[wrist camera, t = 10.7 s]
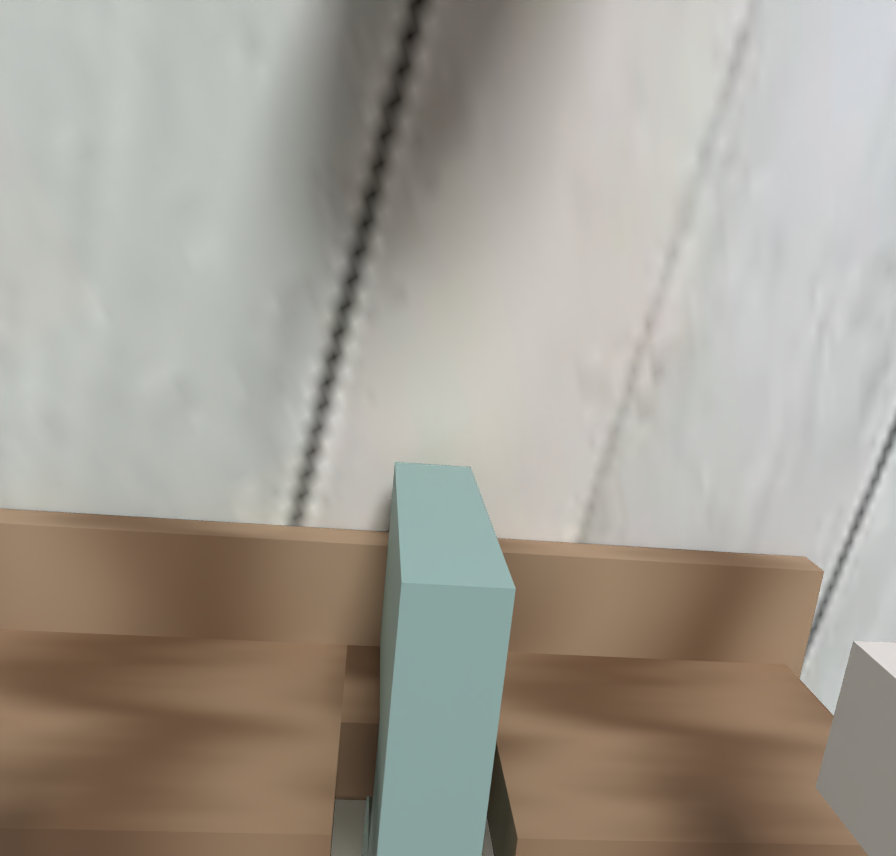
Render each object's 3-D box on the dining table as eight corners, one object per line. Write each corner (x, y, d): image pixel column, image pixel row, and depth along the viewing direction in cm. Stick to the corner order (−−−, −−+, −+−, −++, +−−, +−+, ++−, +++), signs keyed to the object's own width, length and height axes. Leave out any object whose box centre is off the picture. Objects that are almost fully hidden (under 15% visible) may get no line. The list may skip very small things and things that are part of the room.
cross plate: (423, 902, 24) (440, 1178, 17) (357, 902, 24) (347, 1181, 17) (470, 467, 21) (516, 588, 14) (394, 461, 20) (401, 582, 13)
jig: (2, 766, 23) (-193, 1043, 15) (-9, 508, 21) (-240, 672, 13) (754, 787, 25) (919, 1036, 17) (805, 556, 23) (1016, 720, 16)
